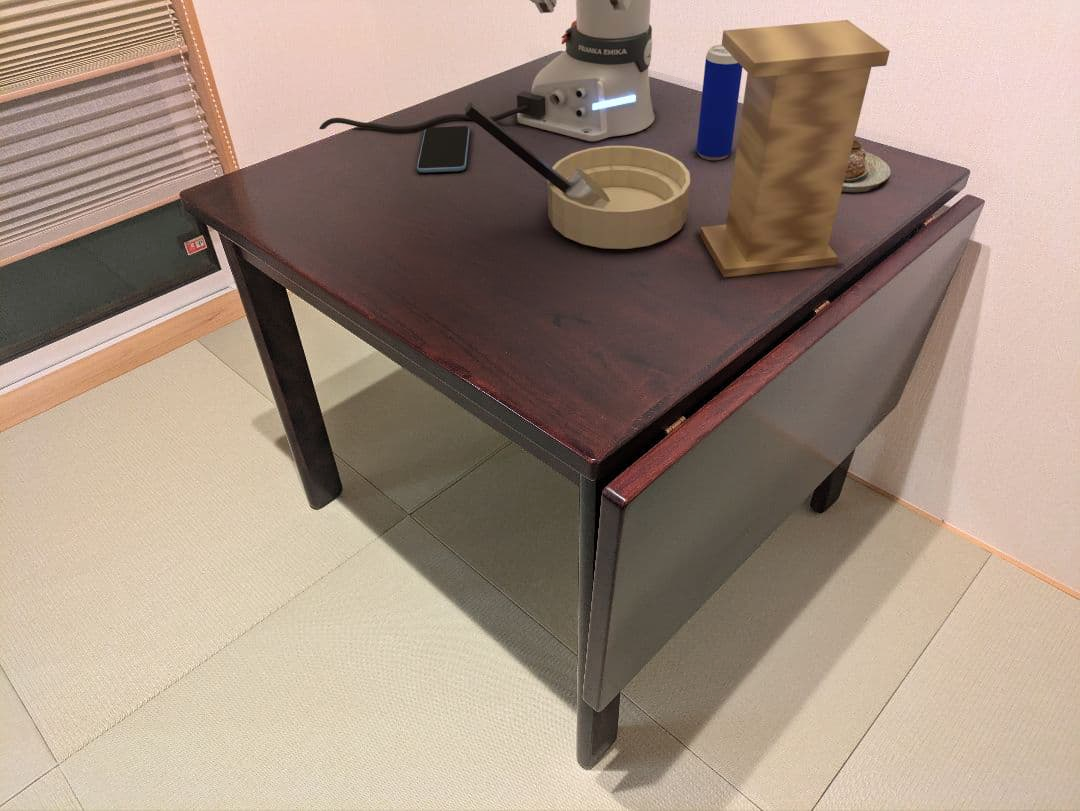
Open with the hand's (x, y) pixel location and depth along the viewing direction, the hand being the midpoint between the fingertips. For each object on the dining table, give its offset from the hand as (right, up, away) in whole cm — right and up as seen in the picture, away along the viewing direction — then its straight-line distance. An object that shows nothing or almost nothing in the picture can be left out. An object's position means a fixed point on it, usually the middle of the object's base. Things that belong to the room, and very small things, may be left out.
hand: (585, 6), depth 86 cm
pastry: (+38, -11, +26) cm, 48 cm away
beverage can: (+21, -6, +33) cm, 39 cm away
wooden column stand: (+23, -24, +12) cm, 36 cm away
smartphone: (-20, -4, +36) cm, 42 cm away
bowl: (+5, -19, +19) cm, 27 cm away
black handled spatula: (-6, -14, +13) cm, 20 cm away
